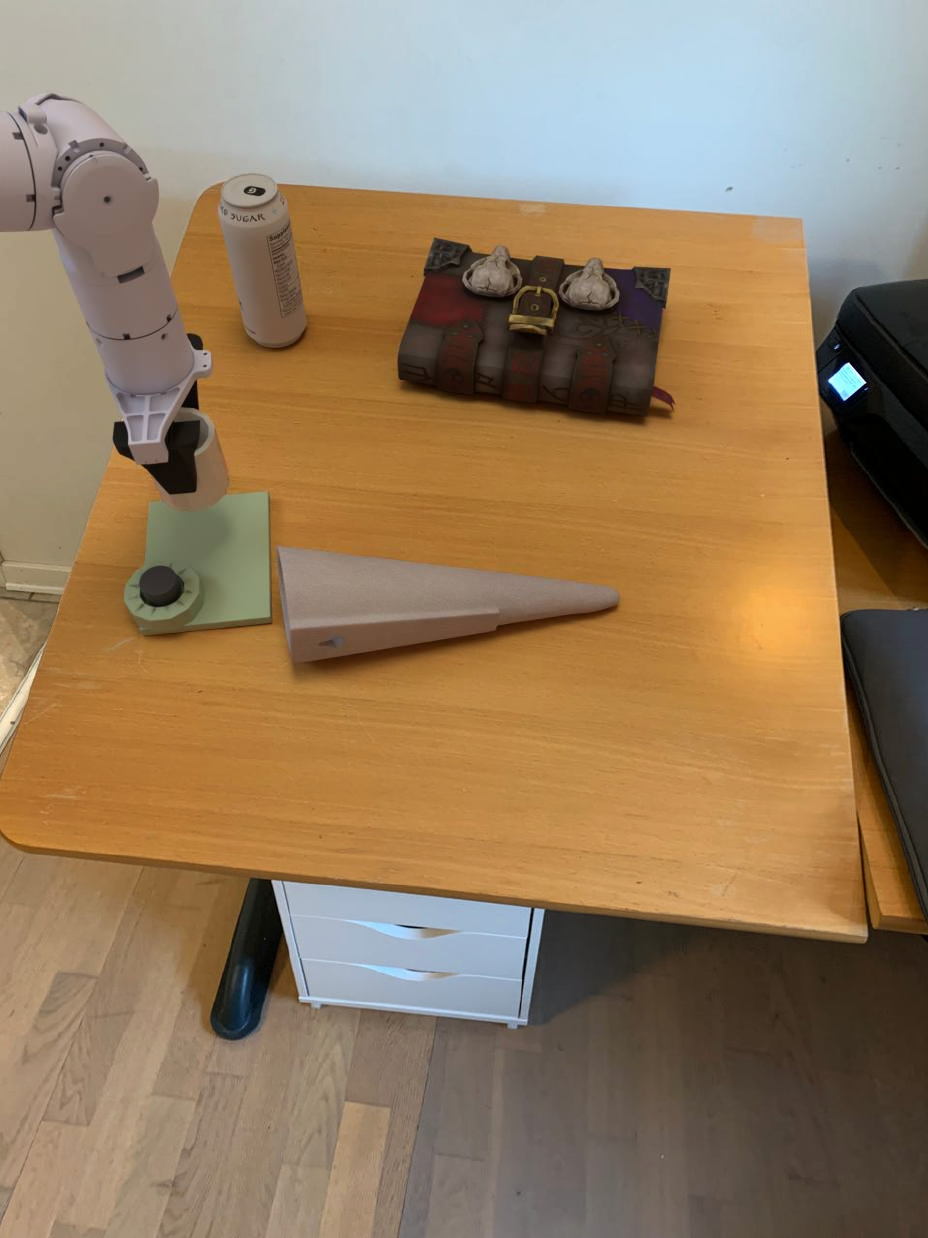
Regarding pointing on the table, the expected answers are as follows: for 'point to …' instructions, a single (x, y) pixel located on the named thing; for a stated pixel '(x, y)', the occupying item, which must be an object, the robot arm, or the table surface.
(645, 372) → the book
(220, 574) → the scale
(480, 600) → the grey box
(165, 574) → the button
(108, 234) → the robot arm
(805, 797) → the table surface
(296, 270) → the energy drink can
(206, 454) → the cup
